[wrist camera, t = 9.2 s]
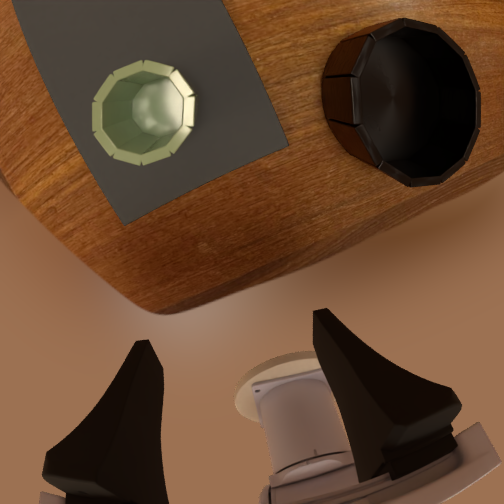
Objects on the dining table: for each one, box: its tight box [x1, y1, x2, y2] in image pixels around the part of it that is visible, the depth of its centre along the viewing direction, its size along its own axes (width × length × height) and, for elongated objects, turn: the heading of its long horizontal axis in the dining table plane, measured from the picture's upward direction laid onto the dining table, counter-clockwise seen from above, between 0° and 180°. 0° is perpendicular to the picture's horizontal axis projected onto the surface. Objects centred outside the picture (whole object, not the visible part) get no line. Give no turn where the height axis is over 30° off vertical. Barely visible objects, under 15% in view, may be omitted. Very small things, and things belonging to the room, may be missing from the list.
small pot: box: [92, 60, 199, 166], centre depth 13 cm, size 4×5×6 cm
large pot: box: [322, 18, 481, 187], centre depth 16 cm, size 10×10×4 cm
